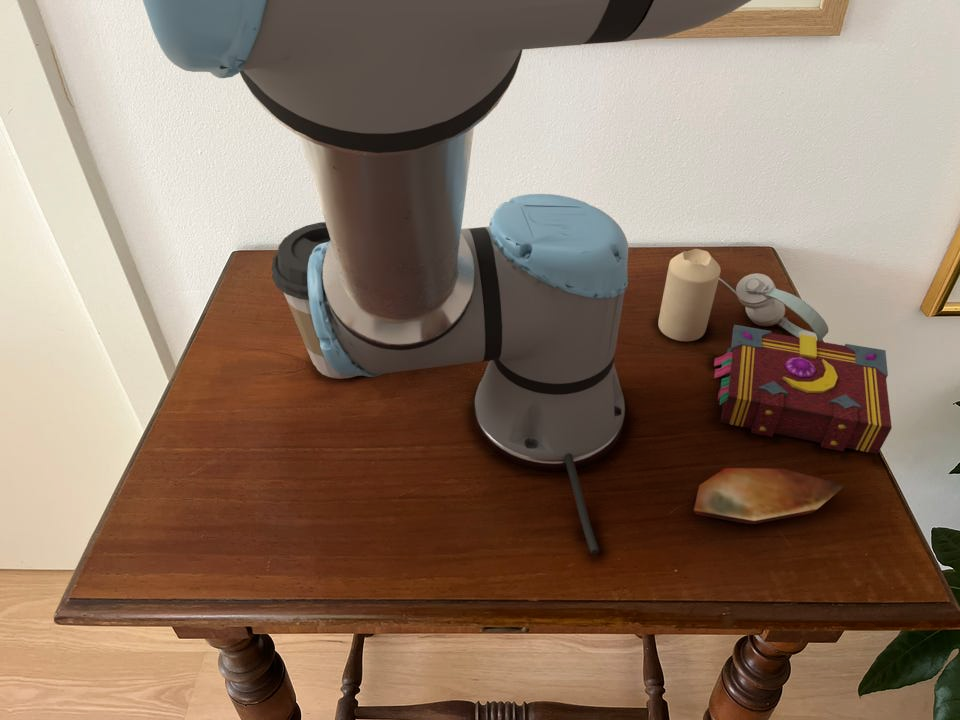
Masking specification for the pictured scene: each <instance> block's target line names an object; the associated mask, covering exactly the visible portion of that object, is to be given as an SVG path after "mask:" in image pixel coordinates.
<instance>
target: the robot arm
mask: <svg viewBox="0 0 960 720" xmlns="http://www.w3.org/2000/svg"><path fill="white" fill-rule="evenodd" d="M751 1H752V0H142V2H143V6H144V8H145V11H146V14H147V17H148V20H149V24H150V26H151V29H152V32H153V34H154V36H155V40H156V41H157V43H158V46H159V47H160V49H161V51H162V53H163V54H164V56H165V57H166V58H167V59H168V61H170V62H171V63H172V64H173V65H174V66H176V67H178V68H179V69H181V70H183V71H186V72H191V73H210V74H211V75H213V76H214V77H216V78H218V79H227V78H233V77H235V76H236V75H238V74H240V76H241V79H242V81H243V83H244V84H245V85H246V87H247V89H248V90H249V92H250V94H251V95H252V96H253V98H254V100H255V101H256V102H257V103H258V104H259V105H260V106H261V108H262V109H263V110H264V111H265V112H266V113H267V114H269V115H270V116H271V117H272V118H273V119H274V120H275V121H276V122H277V123H279V124H280V125H281V126H283V127H285V128H286V129H287V130H289V131H291V132H292V133H294V134H295V135H296V136H299V137H298V138H299V140H300V143H301V147H302V151H303V154H304V157H305V160H306V164H307V166H308V170H309V173H310V176H311V179H312V183H313V186H314V190H315V193H316V196H317V199H318V203H319V206H320V209H321V213H322V216H323V220H324V222H325V223H326V226H327V229H328V233H329V236H330V239H331V240H330V241H329V242H326V243H322V244H319V245H318V246H316V247H315V248H314V249H313V251H312V254H311V255H310V258H309V262H308V273H307V282H308V295H309V303H310V310H311V315H312V320H313V325H314V329H315V331H316V334H317V337H318V338H319V340H320V347H321V350H322V353H323V355H324V357H325V359H326V361H327V362H328V364H329V365H330V367H331V368H332V369H333V370H334V371H336V372H337V373H339V374H341V375H345V376H355V377H359V376H360V377H361V376H364V377H369V378H375V377H379V376H381V375H384V374H392V373H400V372H407V371H415V370H424V369H431V368H439V367H448V366H455V365H462V364H471V363H478V362H488V363H487V366H486V368H485V371H484V374H483V376H482V378H481V380H480V382H479V384H478V386H477V389H476V391H475V392H476V393H475V396H474V420H475V421H474V422H475V425H476V428H477V430H478V433H479V435H480V436H481V438H482V440H483V441H484V443H485V444H487V446H488V447H489V448H490V449H491V450H492V451H493V452H494V453H496V454H497V455H499V456H500V457H502V458H504V459H505V460H507V461H508V462H511V463H513V464H515V465H518V466H520V467H524V468H527V469H531V470H536V471H544V472H545V471H547V472H560V471H561V472H562V471H567V473H568V477H569V480H570V481H569V482H570V484H571V489H572V492H573V497H574V501H575V504H576V508H577V512H578V516H579V519H580V524H581V526H582V531H583V533H584V537H585V540H586V543H587V546H588V549H589V552H590V554H591V555H598V554H599V553H600V549H599V546H598V542H597V540H596V537H595V534H594V531H593V530H594V529H593V527H592V524H591V520H590V517H589V513H588V510H587V506H586V501H585V498H584V494H583V490H582V487H581V483H580V479H579V475H578V471H577V469H578V468H582V467H585V466H588V465H590V464H593V463H595V462H596V461H598V460H599V459H601V458H603V457H604V456H605V455H607V454H608V453H609V452H610V451H611V450H612V449H613V448H614V447H615V445H616V444H617V443H618V441H619V439H620V437H621V435H622V432H623V427H624V422H625V415H626V406H625V405H626V404H625V399H624V398H625V397H624V395H623V391H622V387H621V384H620V380H619V376H618V373H617V372H618V371H617V369H616V365H615V357H616V351H617V343H618V337H619V329H620V325H621V317H622V311H623V305H624V301H625V300H624V299H625V294H626V293H625V292H626V290H627V287H628V284H629V275H628V274H629V273H628V261H629V242H628V240H627V239H628V238H627V236H626V234H625V232H624V231H623V229H622V227H621V226H620V225H619V223H617V221H616V220H615V219H614V218H613V217H611V216H610V215H609V214H607V212H605V211H604V210H602V209H600V208H598V207H597V206H593V205H591V204H589V203H587V202H585V201H583V200H580V199H577V198H574V197H570V196H564V195H561V194H554V193H553V194H551V193H529V194H522V195H518V196H514V197H512V198H510V199H509V201H504V202H502V203H501V204H499V205H498V207H497V208H495V210H494V211H493V214H492V216H491V218H490V220H489V221H490V222H489V225H488V226H480V227H470V228H469V227H468V228H467V227H466V228H462V226H463V218H464V211H465V210H464V209H465V201H466V194H467V186H468V180H469V179H468V178H469V170H470V162H471V155H472V146H473V140H474V139H473V138H474V130H475V127H476V126H478V125H479V124H480V123H481V122H482V121H484V120H485V119H486V118H487V117H488V116H489V115H490V114H491V112H493V111H494V110H495V108H496V107H498V105H499V103H500V102H501V101H502V99H503V98H504V96H505V94H506V93H507V91H508V89H509V87H510V86H511V84H512V82H513V80H514V79H515V78H516V77H515V76H516V73H517V70H518V67H519V64H520V61H521V58H522V53H523V51H524V50H535V49H546V48H559V47H571V46H581V45H594V44H610V43H621V42H622V43H623V42H631V41H641V40H649V39H659V38H667V37H669V36H672V35H673V36H674V35H676V34H680V33H682V32H687V31H689V30H693V29H696V28H699V27H701V26H704V25H706V24H708V23H711V22H713V21H715V20H717V19H720V18H721V17H724V16H726V15H728V14H730V13H732V12H735V10H738V9H739V8H741V7H743V6H745V5H746V4H748V3H750V2H751Z"/></svg>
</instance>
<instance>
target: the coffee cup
mask: <svg viewBox="0 0 960 720" xmlns="http://www.w3.org/2000/svg"><path fill="white" fill-rule="evenodd" d="M330 240H331V239H330V236H329V233H328V229H327V226H326V223H325V221H322V222H315V223H312V224H307V225H304V226H302V227H299V228H298V229H295V230H294V231H292V232H291V233H289V234H287V236H285V237H284V238H283V239H282V241H281V242H280V244H279V245H278V247H277V252H276V254H275V255H274V256H273V258H272V263H271V278H272V281H273V283H274V285H275V287H276V288H277V289H278V290H280V291H281V292H283V294H284V297H285V300H286V301H287V304H288V307H289V309H290V312H291V315H292V317H293V319H294V321H295V324H296V326H297V328H298V331H299V334H300V336H301V338H302V341H303V343H304V346H305V348H306V350H307V353H308V355H309V357H310V360H311V362H312V364H313V365H314V367H315V368H316V370H317V371H318V372H319V373H320V374H321V375H323V376H326V377H328V378H331V379H339V380H343V379H344V380H345V379H351V378H354V377H356V376H345V375H341V374H339V373H337V372H336V371H334V370H333V369H332V368H331V367H330V365H329V364H328V362H327V361H326V359H325V357H324V355H323V353H322V350H321V347H320V340H319V338H318V337H317V334H316V331H315V329H314V325H313V320H312V315H311V310H310V303H309V295H308V282H307V273H308V262H309V258H310V255H311V254H312V251H313V249H314V248H315V247H316V246H318V245H319V244H322V243H326V242H329V241H330Z"/></svg>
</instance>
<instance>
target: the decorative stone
mask: <svg viewBox="0 0 960 720" xmlns="http://www.w3.org/2000/svg"><path fill="white" fill-rule="evenodd" d="M845 486H846V484H843V483H839V482H836V481H833V480H828V479H824V478H821V477H816V476H812V475H809V474H805V473H804V474H803V473H801V472H798V471H794V470H789V469H785V468H761V467H759V468H756V467H754V468H751V467H746V468H745V467H725V468H723V469H721V470H720V471H718V472H717V473H715V474H714V475H712V476H711V477H710V478H708V479H707V480H705V481H703V482H702V483H700V484H699V486H698V489H697V494H696V499H695V503H694V507H693V512H694V513H695V515H696V516H701V517H708V518H713V519H719V520H724V521H728V522H733V523H739V524H745V525H757V524H762V523H768V522H772V521H778V520H783V519H789V518H794V517H799V516H804V515H810V514H813V513H814V512H816V511H818V509H819V508H821V507H822V506H823V505H824V504H825V503H826V502H828V501H829V500H830V499H831V498H832V497H834V496H835V495H836V494H837V493H838V492H839V491H840V490H842V489H843V488H844V487H845Z"/></svg>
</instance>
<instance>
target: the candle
mask: <svg viewBox="0 0 960 720" xmlns="http://www.w3.org/2000/svg"><path fill="white" fill-rule="evenodd" d="M721 272H722V271H721V266H720V264H719V263H718V262H717V261H716V259H714V258H713V256H712V255H711V254H710V252H708V251H707V250H703V249H699V248H693V249H691V250H684V251H682V252H681V253H679V254H677V255H674V257H672V258H671V259H670V260H669V264H668V269H667V273H666V280H665V284H664V288H663V293H662V294H663V295H662V300H661V305H660V310H659V316H658V329H659V330H660V332H661V333H662V334H663V335H664V336H666V337H667V338H670V339H672V340H674V341H677V342H694V341H697V340H700V338H702V337H703V336H704V335H705V334H706V331H707V328H708V324H709V319H710V315H711V312H712V308H713V304H714V300H715V296H716V293H717V288H718V284H719V281H720V280H719V278H720V276H721Z"/></svg>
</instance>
